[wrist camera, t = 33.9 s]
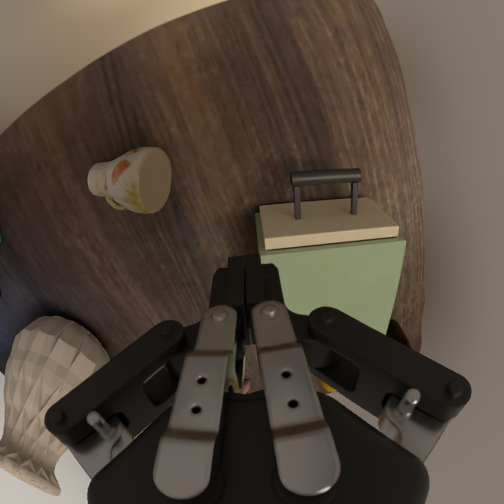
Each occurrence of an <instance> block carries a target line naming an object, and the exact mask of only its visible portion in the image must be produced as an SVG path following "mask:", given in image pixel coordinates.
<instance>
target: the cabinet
mask: <svg viewBox="0 0 504 504" xmlns="http://www.w3.org/2000/svg"><path fill="white" fill-rule="evenodd" d="M255 220H256V230H257V240H258V250H259V254H260V257H261V264H266V263H273V264H274V265H275V266H276V267H277V268H278V271H279V277H280V282H281V287H282V292H283V298H284V303H285V306H286V307H287V308H288V309H289V310H290V311H292V312H294V313H297V314H302V315H309V314H310V312H311V311H313V310H314V309H316V308H319V307H324V306H328V307H333V308H336V309H338V310H340V311H342V312H344V313H346V314H347V315H349V316H351V317H353V318H355V319H357V320H358V321H360V322H362V323H364V324H366V325H368V326H370V327H371V328H373V329H375V330H377V331H379V332H381V333H383V334H384V335H386V332H387V328H388V325H389V321H390V317H391V313H392V309H393V305H394V301H395V297H396V292H397V288H398V283H399V278H400V273H401V268H402V263H403V258H404V252H405V246H406V240H405V239H404V237H403V236H402V235H401V234H400V233H399V232H398V236H397V237H387V238H381V239H380V240H370V241H361V242H351V243H342V244H332V245H322V246H313V247H303V248H293V249H284V250H274V251H269V250H265V245H264V238H263V231H262V224H261V217H260V213H255ZM311 374H312V373H311Z"/></svg>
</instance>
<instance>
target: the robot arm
mask: <svg viewBox="0 0 504 504" xmlns="http://www.w3.org/2000/svg"><path fill="white" fill-rule="evenodd" d="M250 332H251V337H250ZM251 339H252V344H256V349H257V356H258V363H259V369H260V375H261V381H262V387H263V390H260V391H256V392H253V393H250V394H243V385H244V372H245V345H251ZM162 365H163V366H164V367H163V368H162V369H161V370H160V371H159V372H158V373H156V374H155V375H154V376H153V377H152V378H151V379H149V380H148V381H147V382H146V383H145V384H143V383H144V381H145V380H146V379H147V378H148V377H149V376H151V375H152V374H153V373H154V372H155V371H156V370H158V369H159V368H160V367H161V366H162ZM311 373H312V374H313V375H314V376H316V377H317V378H319V379H320V380H322V381H323V382H324V383H326V384H327V385H329V386H330V387H332V388H333V389H335V390H336V391H338V392H339V393H340V394H342V395H343V396H345V397H346V398H348V399H349V400H351V401H352V402H354V403H356V404H357V405H359V406H360V407H362V408H363V409H365V410H366V411H368V412H369V413H371V414H372V415H374V416H376V417H377V418H379V420H378V426H379V429H380V431H381V432H382V433H381V432H380V431H378V430H377V429H375V428H374V427H372V426H371V425H370V424H368V423H367V422H366V421H364V420H363V419H361V418H360V417H359V416H357V415H356V414H354V413H353V412H352V411H350V410H349V409H347V408H346V407H345V406H344V405H342V404H341V403H339V402H338V401H337V400H335V399H333V398H332V397H330V396H327V395H325V394H323V393H320V392H316V389H315V386H314V382H313V379H312V376H311ZM470 397H471V386H470V384H469V382H468V381H467V380H466V378H464V377H463V376H461V375H460V374H458V373H456V372H454V371H452V370H450V369H448V368H446V367H444V366H443V365H441V364H439V363H437V362H435V361H433V360H431V359H429V358H428V357H426V356H424V355H422V354H420V353H418V352H416V351H414V350H412V349H411V348H409V347H407V346H405V345H403V344H401V343H399V342H398V341H396V340H394V339H392V338H390V337H388V336H386V335H384V334H383V333H381V332H379V331H377V330H375V329H373V328H371V327H370V326H368V325H366V324H364V323H362V322H360V321H358V320H357V319H355V318H353V317H351V316H349V315H347V314H346V313H344V312H342V311H340V310H338V309H336V308H333V307H328V306H324V307H319V308H316V309H314V310H313V311H311V312H310V314H309V315H302V314H297V313H294V312H292V311H290V310H289V309H288V308H287V307H286V306H285V303H284V298H283V292H282V287H281V282H280V277H279V271H278V268H277V267H276V266H275V265H274V264H273V263H266V264H261V257H260V254H252V255H245V259H244V255H243V256H233V257H229V258H228V268H219V269H218V270H217V271H216V272H215V274H214V275H213V284H212V289H211V297H210V305H209V309H208V310H207V311H205V313H204V314H203V316H202V320H201V321H200V322H198V323H196V324H193V325H190V326H187V327H183V326H182V324H181V323H179V322H177V321H174V320H167V321H163V322H160V323H158V324H157V325H155V326H154V327H153V328H151V329H150V330H149V331H148V332H146V333H145V334H144V335H142V336H141V337H140V338H139V339H137V340H136V341H135V342H133V343H132V344H131V345H129V346H128V347H127V348H126V349H124V350H123V351H122V352H120V353H119V354H118V355H117V356H115V357H114V358H113V359H111V360H110V361H109V362H107V363H106V364H105V365H104V366H102V367H101V368H100V369H98V370H97V371H96V372H95V373H93V374H92V375H91V376H89V377H88V378H87V379H86V380H84V381H83V382H82V383H80V384H79V385H78V386H76V387H75V388H74V389H73V390H71V391H70V392H69V393H67V394H66V395H65V396H64V397H62V398H61V399H60V400H58V401H57V402H56V403H55V404H53V405H52V406H51V407H50V408H49V409H48V410H47V412H46V414H45V417H44V424H45V427H46V429H47V430H48V431H49V432H50V433H52V434H53V435H54V436H55V437H56V438H57V439H59V441H60V442H61V443H62V444H63V445H65V446H66V447H67V448H69V449H70V451H71V452H72V454H73V455H74V457H75V458H76V459H77V461H78V462H79V464H80V465H81V466H82V468H83V469H84V471H85V472H86V473H87V474H88V476H89V477H90V478H91V482H90V485H89V487H88V493H87V499H88V504H425V502H426V498H427V495H428V491H429V475H428V471H427V469H426V467H425V465H424V464H423V463H424V462H425V460H426V459H427V457H428V455H429V454H430V453H431V451H432V450H433V448H434V447H435V445H436V443H437V442H438V440H439V438H440V437H441V435H442V433H443V432H444V430H445V428H446V427H447V426H448V425H449V424H450V423H451V422H452V420H453V419H454V418H455V417H456V416H457V415H458V413H459V412H460V411H461V410H462V408H463V407H464V406H465V405H466V404H467V402H468V401H469V399H470ZM172 404H173V405H172ZM170 405H172V406H170ZM169 406H170V407H169ZM168 407H169V408H168ZM167 408H168V409H167ZM160 414H161V415H160ZM159 415H160V416H159ZM150 423H151V424H150ZM149 424H150V425H149ZM148 425H149V426H148ZM147 426H148V427H147ZM146 427H147V428H146ZM145 428H146V429H145ZM143 429H145V430H144V431H143V432H142V433H141V434H140V435H138V434H139V433H140V432H141V431H142V430H143ZM137 435H138V436H137ZM136 436H137V437H136ZM134 437H136V438H135V439H134Z"/></svg>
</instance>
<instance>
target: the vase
mask: <svg viewBox="0 0 504 504" xmlns="http://www.w3.org/2000/svg"><path fill="white" fill-rule="evenodd" d="M109 361H110V359H109V356H108V353H107V352H106V350H105V349H104V348H103V347H102V346H101V343H100V342H99V340H98V339H97V338H96V337H95V336H94V335H92V333H90V332H89V331H88V330H87V329H85V328H84V326H80V325H79V324H78V323H76V322H74V321H70V320H69V319H68V320H67V319H65V318H63V317H60V316H54V315H53V316H52V317H49V316H43V317H40V318H38V319H36V320H35V321H33V322H32V323H31V324H29V325H28V326H27V327H25V328H24V329H23V330H22V331H21V332H20V333H19V334H17V335H16V337H15V340H14V343H13V347H12V351H11V355H10V357H9V359H8V362H7V366H6V371H5V385H4V402H5V423H4V432H3V436H2V439H1V441H0V467H1V468H3V469H4V470H6V471H8V472H9V473H10V474H12V475H14V476H16V477H17V478H19V479H21V480H22V481H24V482H26V483H28V484H30V485H32V486H34V487H36V488H38V489H40V490H42V491H44V492H47V493H49V494H52V495H55V496H58V495H59V494H60V491H61V490H60V487H59V484H58V481H57V480H56V478H55V475H54V469H55V465H56V463H57V461H58V460H59V458H60V457H61V456H62V455H63V453H64V452H65V451H66V450H67V449H68V448H67V447H66V446H65V445H63V444H62V443H61V442H60V441H59V439H57V438H56V437H55V436H54V435H53V434H52V433H50V432H49V431H48V430H47V429H46V427H45V424H44V417H45V414H46V412H47V410H48V409H49V408H50V407H51V406H52V405H53V404H55V403H56V402H57V401H58V400H60V399H61V398H62V397H64V396H65V395H66V394H67V393H69V392H70V391H71V390H73V389H74V388H75V387H76V386H78V385H79V384H80V383H82V382H83V381H84V380H86V379H87V378H88V377H89V376H91V375H92V374H93V373H95V372H96V371H97V370H98V369H100V368H101V367H102V366H104V365H105V364H106V363H107V362H109Z"/></svg>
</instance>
